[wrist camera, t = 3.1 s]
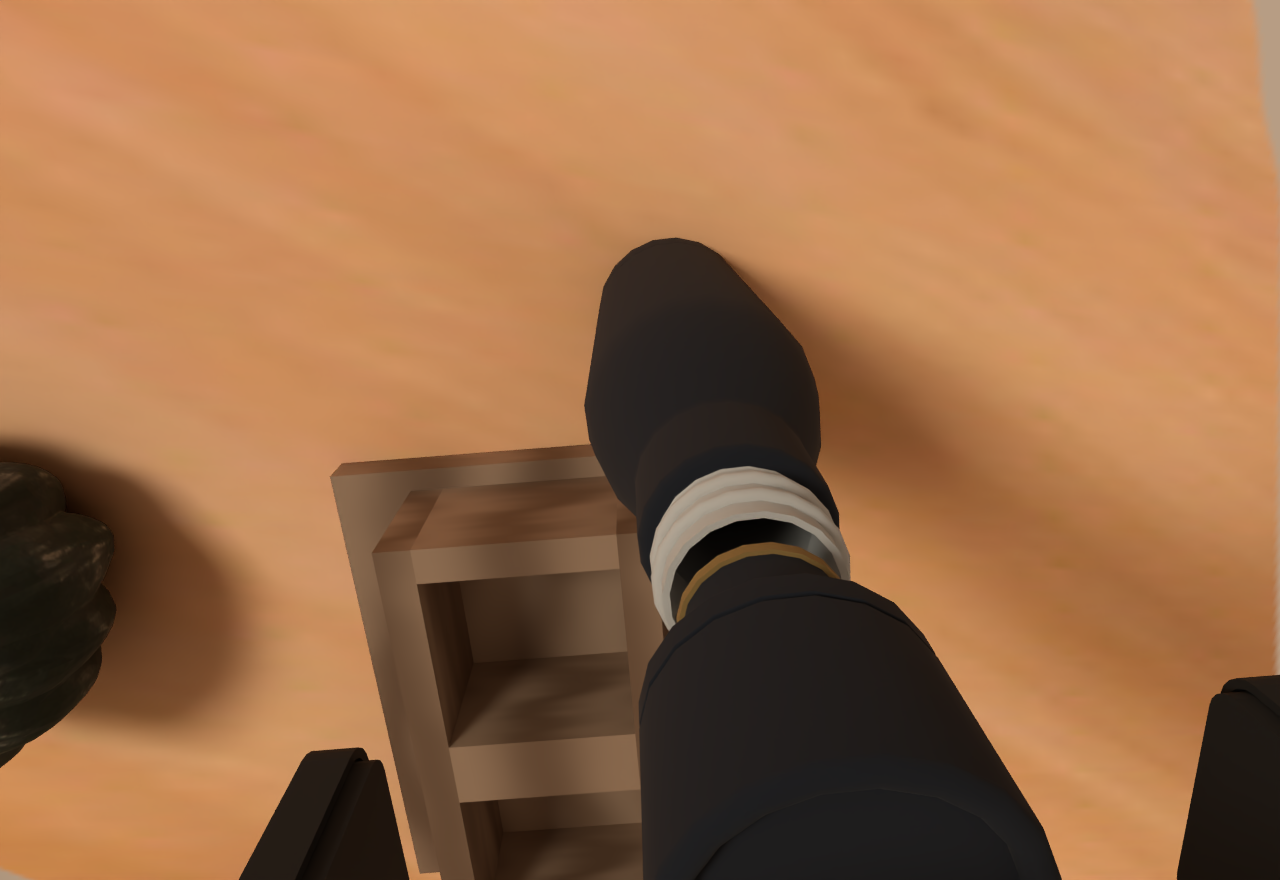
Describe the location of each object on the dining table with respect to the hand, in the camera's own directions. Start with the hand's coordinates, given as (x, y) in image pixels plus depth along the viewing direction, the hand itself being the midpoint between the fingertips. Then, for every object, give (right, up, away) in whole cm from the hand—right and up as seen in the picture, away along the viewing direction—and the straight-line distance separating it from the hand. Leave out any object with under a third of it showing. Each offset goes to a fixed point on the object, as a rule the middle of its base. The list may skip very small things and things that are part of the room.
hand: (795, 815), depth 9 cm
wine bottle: (0, +10, +27) cm, 28 cm away
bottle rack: (-6, -7, +33) cm, 34 cm away
